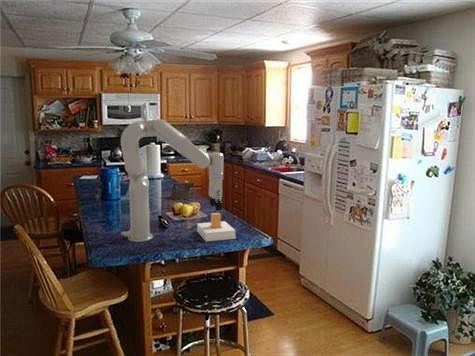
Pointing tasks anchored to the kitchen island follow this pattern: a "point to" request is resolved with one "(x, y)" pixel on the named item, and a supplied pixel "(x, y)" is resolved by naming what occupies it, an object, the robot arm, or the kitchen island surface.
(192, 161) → the robot arm
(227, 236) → the socket block
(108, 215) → the kitchen island surface
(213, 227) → the plug
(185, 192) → the clothes iron
